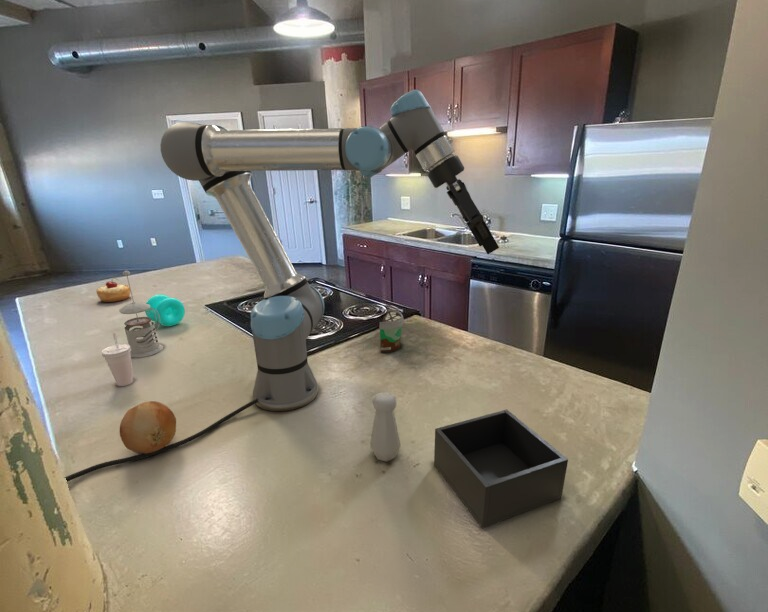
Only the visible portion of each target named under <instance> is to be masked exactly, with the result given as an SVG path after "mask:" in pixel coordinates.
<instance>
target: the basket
mask: <svg viewBox="0 0 768 612" xmlns="http://www.w3.org/2000/svg"><path fill="white" fill-rule="evenodd" d="M433 451H434V452H433V453H434V457H433V461H434V462H433V465H434V467H435V468H436V470H438V472H439V474H441V476H442V477H443V479H444V480H445V481H446V482H447V484H448V485H449V486H450V487H451V489H452V490H453V492H454V493H455V494H456V496H457V497H458V499H459V500H460V501H461V502H462V504H464V506H465V507H466V509H467V510H468V512H469V513H470V514H471V515H472V517H473V518H474V520H475V521H476V522H477V523H478V524H479V525H478V526H480V528H482V529H484V528H486V527H489V526H492V525H494V524H497V523H499V522H502V521H505V520H508V519H510V518H513V517H515V516H519V515H521V514H524V513H526V512H529V511H532V510H535V509H536V508H540V507H542V506H545V505H547V504H550V503H553V502H556V501H558V500H561V499H562V498H563V497H562V496H563V492H564V491H563V490H564V486H565V480H566V475H567V474H566V473H567V468H568V463H569V459H568V458H567V457H566V456H565V455H563V454H562V453H561V452H560V451H559V450H557V449H556V448H555V447H553V445H551V444H550V443H549V442H548V441H546V440H545V439H544V438H543V437H542V436H540V435H539V434H538V433H536V432H535V431H534V430H533V429H531V428H530V427H529V426H528V425H527V424H525V422H523V421H522V420H521V419H519V417H517V416H516V415H514V414H513V413H512V412H511V411H509V409H503V410H500V411H496V412H492V413H488V414H485V415H481V416H477V417H474V418H470V419H466V420H463V421H459V422H455V423H452V424H448V425H444V426H440V427H437V428H434V450H433Z"/></svg>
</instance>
